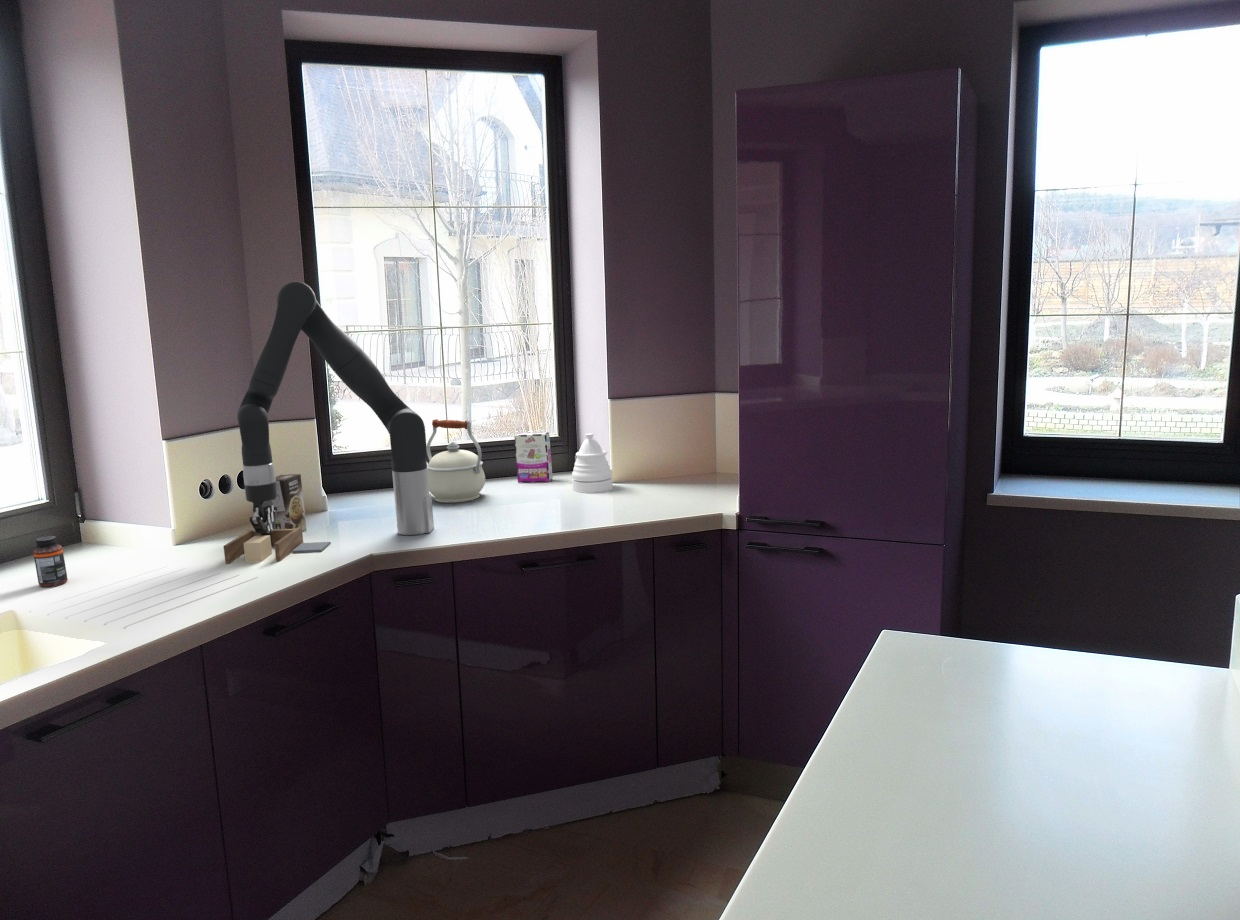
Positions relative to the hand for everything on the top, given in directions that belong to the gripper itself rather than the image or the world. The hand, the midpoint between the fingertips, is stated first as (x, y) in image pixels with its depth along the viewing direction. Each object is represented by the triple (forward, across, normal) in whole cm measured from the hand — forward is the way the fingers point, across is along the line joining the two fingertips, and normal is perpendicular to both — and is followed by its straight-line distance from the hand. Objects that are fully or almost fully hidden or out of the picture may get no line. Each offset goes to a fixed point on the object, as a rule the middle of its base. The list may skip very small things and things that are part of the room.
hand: (267, 547), depth 241 cm
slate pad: (+1, +1, -11) cm, 11 cm away
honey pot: (+1, +60, -82) cm, 101 cm away
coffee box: (+1, +18, +1) cm, 18 cm away
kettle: (+1, +56, -38) cm, 67 cm away
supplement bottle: (+1, -22, +43) cm, 48 cm away
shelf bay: (+1, -2, 0) cm, 3 cm away
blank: (+1, -6, 0) cm, 7 cm away
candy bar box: (+1, +77, -62) cm, 99 cm away
